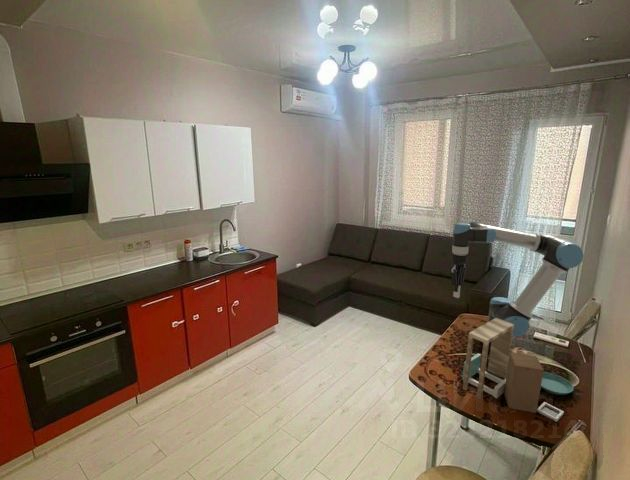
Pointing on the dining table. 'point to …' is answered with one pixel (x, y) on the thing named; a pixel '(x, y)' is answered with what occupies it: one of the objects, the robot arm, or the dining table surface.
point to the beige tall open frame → (499, 352)
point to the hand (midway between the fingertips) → (456, 296)
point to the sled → (476, 369)
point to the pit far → (550, 411)
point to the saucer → (555, 384)
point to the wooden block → (523, 382)
